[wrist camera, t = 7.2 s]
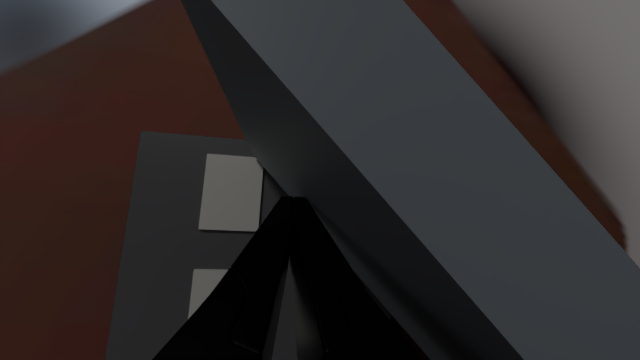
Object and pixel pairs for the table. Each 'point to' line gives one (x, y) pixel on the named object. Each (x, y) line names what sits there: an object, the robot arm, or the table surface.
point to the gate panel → (421, 181)
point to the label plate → (189, 238)
